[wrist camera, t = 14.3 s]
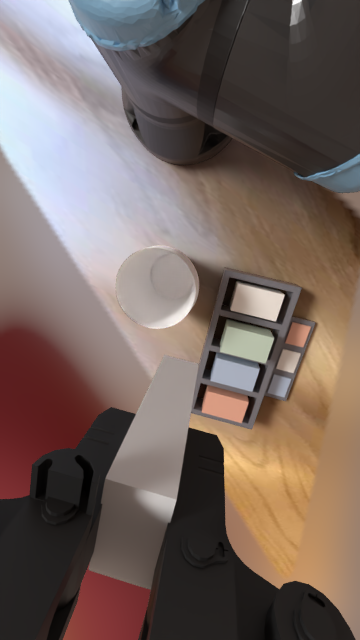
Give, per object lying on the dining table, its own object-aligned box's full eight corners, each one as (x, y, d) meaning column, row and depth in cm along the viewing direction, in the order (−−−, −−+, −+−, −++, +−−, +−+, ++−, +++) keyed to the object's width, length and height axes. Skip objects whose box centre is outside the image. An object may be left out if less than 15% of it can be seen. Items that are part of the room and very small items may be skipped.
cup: (212, 256, 40) (209, 262, 29) (191, 314, 43) (181, 341, 31) (152, 235, 40) (125, 233, 29) (135, 295, 43) (105, 314, 32)
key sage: (226, 319, 39) (227, 326, 36) (269, 329, 39) (274, 338, 36) (220, 342, 40) (220, 351, 37) (261, 353, 40) (265, 363, 37)
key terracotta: (208, 379, 44) (207, 391, 41) (246, 389, 44) (248, 402, 40) (202, 399, 45) (201, 412, 42) (239, 409, 45) (241, 423, 41)
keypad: (224, 267, 40) (225, 269, 37) (294, 283, 40) (301, 287, 36) (189, 399, 47) (187, 411, 43) (249, 415, 46) (251, 429, 43)
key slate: (217, 348, 43) (216, 358, 39) (256, 359, 42) (259, 369, 39) (211, 370, 44) (210, 380, 40) (249, 380, 43) (252, 391, 40)
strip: (289, 315, 41) (290, 317, 40) (314, 321, 41) (316, 323, 40) (262, 393, 45) (263, 396, 44) (284, 399, 44) (286, 402, 44)
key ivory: (236, 280, 40) (238, 283, 36) (279, 290, 39) (284, 294, 36) (229, 304, 41) (230, 310, 37) (271, 314, 40) (275, 321, 37)
